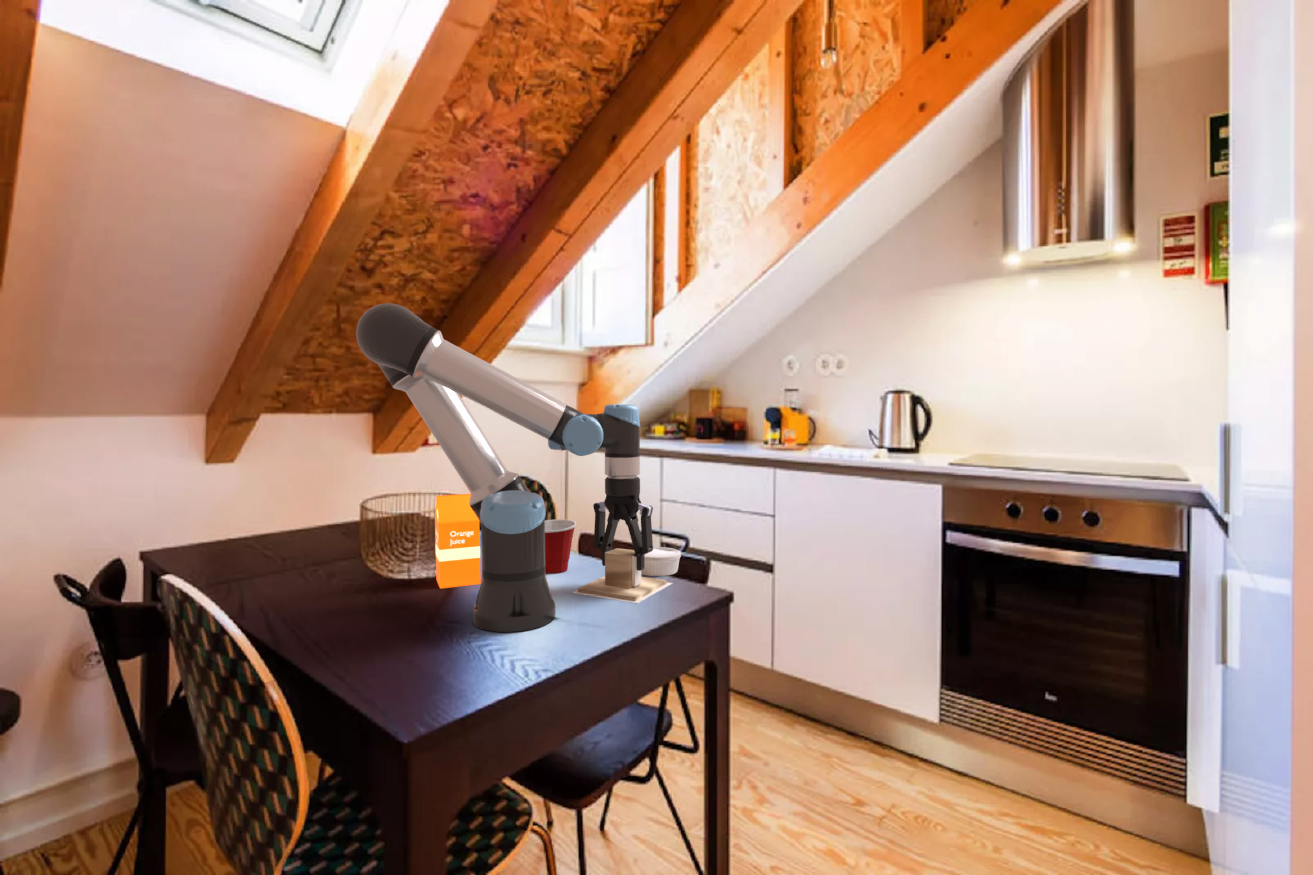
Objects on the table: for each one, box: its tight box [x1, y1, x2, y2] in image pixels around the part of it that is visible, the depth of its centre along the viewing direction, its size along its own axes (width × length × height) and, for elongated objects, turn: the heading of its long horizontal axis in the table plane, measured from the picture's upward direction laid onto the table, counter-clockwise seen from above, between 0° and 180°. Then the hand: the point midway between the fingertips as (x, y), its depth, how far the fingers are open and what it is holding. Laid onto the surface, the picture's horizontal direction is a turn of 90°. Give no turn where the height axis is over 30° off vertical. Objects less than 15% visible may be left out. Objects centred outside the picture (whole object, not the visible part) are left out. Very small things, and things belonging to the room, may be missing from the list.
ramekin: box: [641, 546, 682, 577], centre depth 154 cm, size 11×11×5 cm
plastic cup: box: [545, 518, 577, 575], centre depth 155 cm, size 11×11×12 cm
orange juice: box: [434, 493, 482, 589], centre depth 147 cm, size 8×9×20 cm
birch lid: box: [577, 547, 668, 601], centre depth 140 cm, size 14×14×8 cm
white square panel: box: [571, 581, 673, 604], centre depth 140 cm, size 16×16×1 cm
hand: (623, 582), depth 140 cm, fingers closed on birch lid, 6 cm apart
